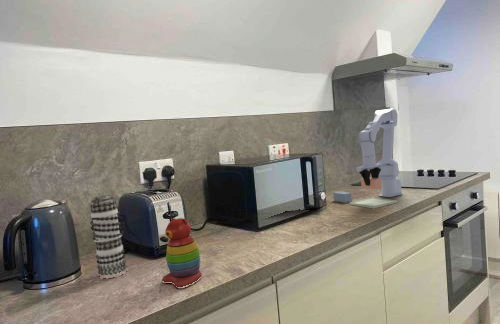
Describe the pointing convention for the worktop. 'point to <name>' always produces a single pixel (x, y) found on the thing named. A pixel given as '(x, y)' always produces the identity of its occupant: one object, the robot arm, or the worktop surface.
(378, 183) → the coral brick
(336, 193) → the slate brick
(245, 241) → the worktop surface
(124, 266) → the decorative candle
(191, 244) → the stacking bear
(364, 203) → the baseplate
